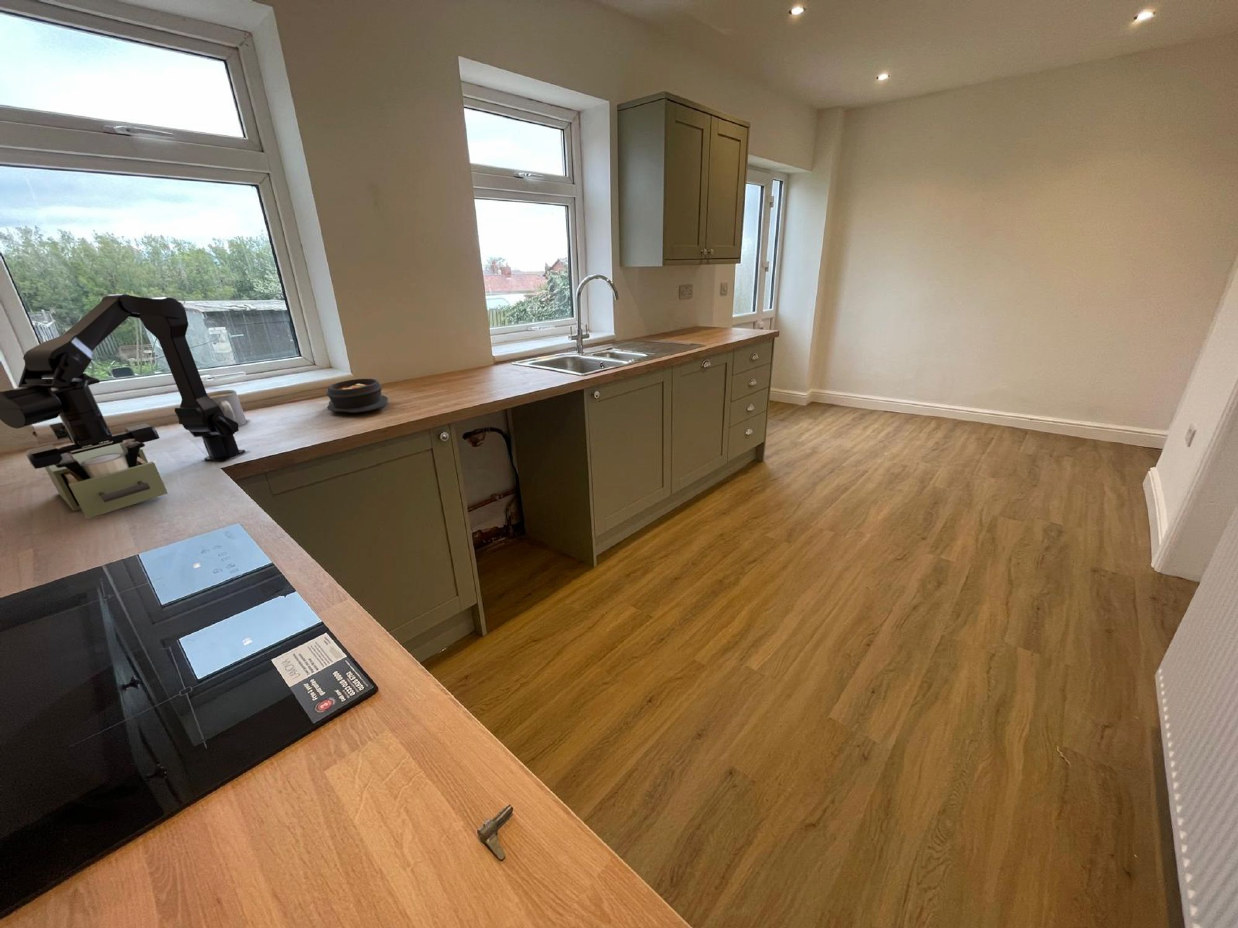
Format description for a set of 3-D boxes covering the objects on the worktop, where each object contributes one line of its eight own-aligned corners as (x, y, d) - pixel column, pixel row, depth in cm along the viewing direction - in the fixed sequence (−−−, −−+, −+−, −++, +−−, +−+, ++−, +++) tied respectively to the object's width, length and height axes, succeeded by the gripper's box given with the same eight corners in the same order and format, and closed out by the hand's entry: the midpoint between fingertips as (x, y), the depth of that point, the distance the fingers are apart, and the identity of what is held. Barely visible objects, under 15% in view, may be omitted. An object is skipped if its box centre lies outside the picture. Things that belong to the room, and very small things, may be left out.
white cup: (121, 494, 103) (105, 463, 100) (85, 497, 103) (69, 466, 100) (147, 480, 109) (133, 451, 106) (114, 483, 109) (99, 453, 106)
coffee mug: (207, 425, 158) (195, 394, 154) (245, 418, 163) (234, 388, 160) (209, 435, 148) (196, 402, 144) (249, 427, 154) (237, 395, 150)
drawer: (175, 498, 106) (161, 467, 103) (92, 524, 97) (74, 491, 94) (148, 479, 117) (134, 450, 114) (71, 501, 107) (54, 470, 104)
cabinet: (158, 485, 115) (142, 449, 112) (74, 511, 105) (52, 471, 101) (139, 471, 124) (123, 437, 120) (59, 494, 113) (39, 457, 110)
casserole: (403, 407, 166) (398, 383, 163) (345, 422, 154) (338, 396, 151) (371, 396, 182) (366, 373, 179) (316, 408, 170) (309, 384, 166)
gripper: (129, 394, 110) (158, 459, 117) (3, 418, 97) (44, 490, 103) (144, 401, 104) (174, 469, 110) (12, 427, 91) (55, 504, 97)
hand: (114, 482), depth 105 cm, fingers closed on white cup, 6 cm apart
